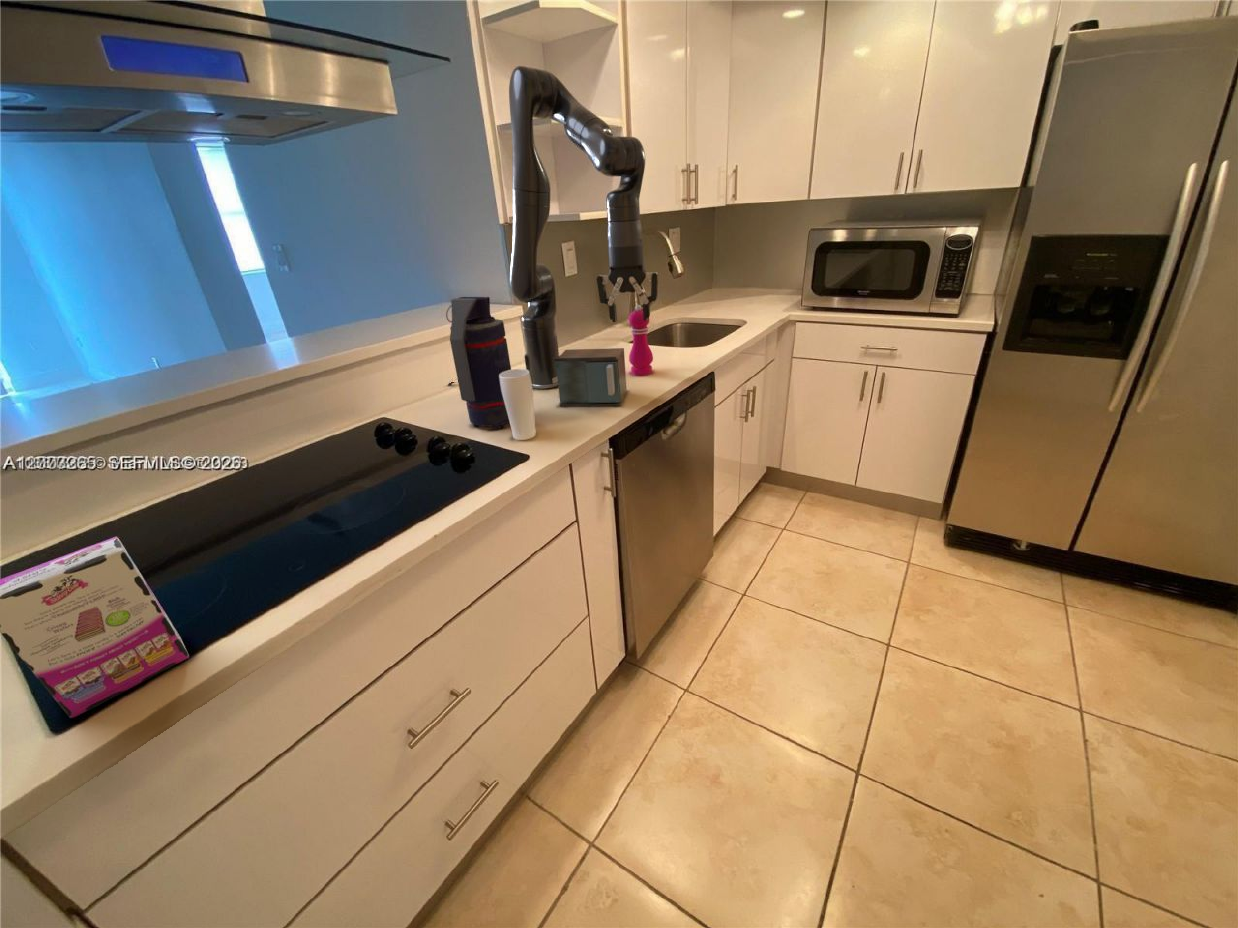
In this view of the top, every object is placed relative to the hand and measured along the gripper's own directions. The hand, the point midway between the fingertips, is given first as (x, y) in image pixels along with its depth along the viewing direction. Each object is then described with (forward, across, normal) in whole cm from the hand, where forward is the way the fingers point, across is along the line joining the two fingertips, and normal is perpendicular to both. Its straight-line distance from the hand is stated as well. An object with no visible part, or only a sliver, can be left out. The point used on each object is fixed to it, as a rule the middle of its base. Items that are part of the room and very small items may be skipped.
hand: (629, 320), depth 121 cm
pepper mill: (+22, +2, -31) cm, 38 cm away
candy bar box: (+22, +48, +88) cm, 103 cm away
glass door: (+21, +8, -1) cm, 22 cm away
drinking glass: (+22, +23, +17) cm, 36 cm away
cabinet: (+22, +12, -9) cm, 26 cm away
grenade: (+22, +34, +9) cm, 42 cm away
